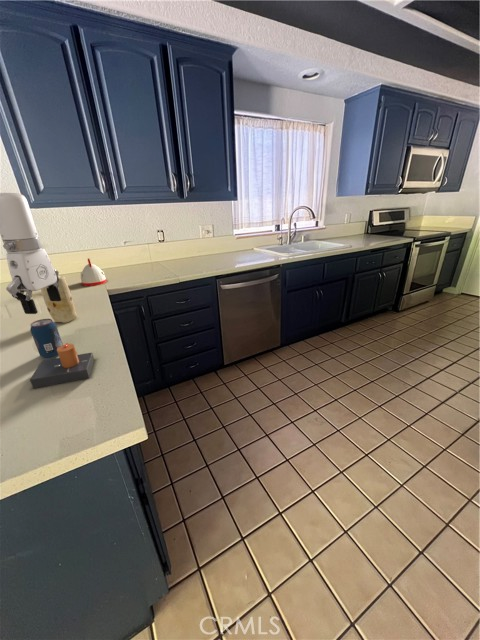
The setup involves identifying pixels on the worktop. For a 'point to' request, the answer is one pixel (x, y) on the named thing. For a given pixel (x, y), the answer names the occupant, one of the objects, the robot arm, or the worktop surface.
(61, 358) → the knob
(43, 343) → the soda can
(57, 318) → the food model
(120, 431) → the worktop surface
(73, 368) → the cooker panel
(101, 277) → the kitchen timer
